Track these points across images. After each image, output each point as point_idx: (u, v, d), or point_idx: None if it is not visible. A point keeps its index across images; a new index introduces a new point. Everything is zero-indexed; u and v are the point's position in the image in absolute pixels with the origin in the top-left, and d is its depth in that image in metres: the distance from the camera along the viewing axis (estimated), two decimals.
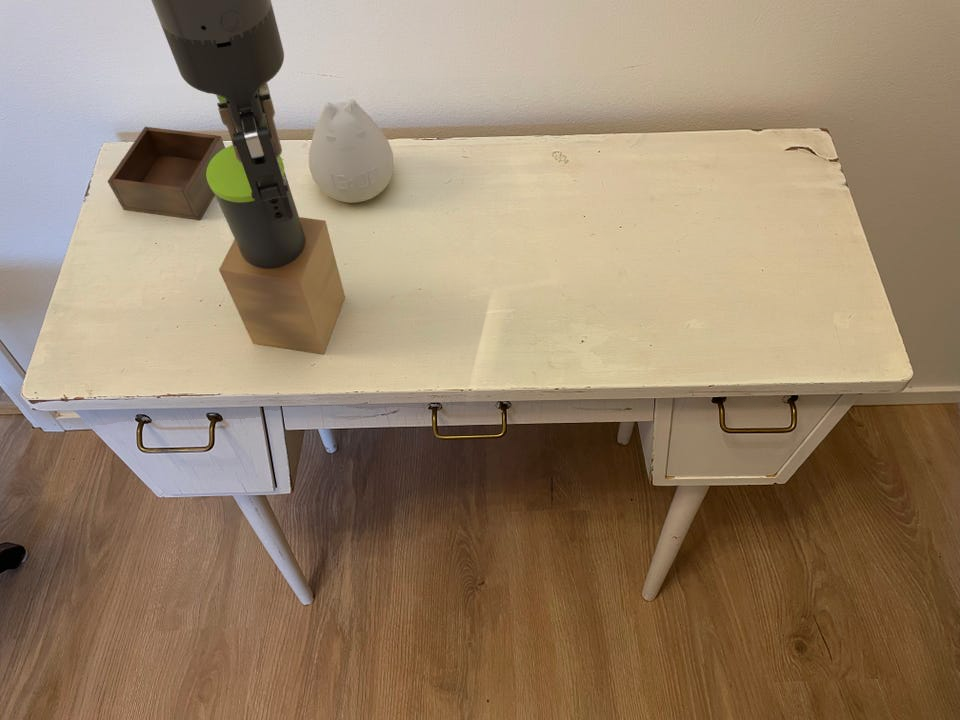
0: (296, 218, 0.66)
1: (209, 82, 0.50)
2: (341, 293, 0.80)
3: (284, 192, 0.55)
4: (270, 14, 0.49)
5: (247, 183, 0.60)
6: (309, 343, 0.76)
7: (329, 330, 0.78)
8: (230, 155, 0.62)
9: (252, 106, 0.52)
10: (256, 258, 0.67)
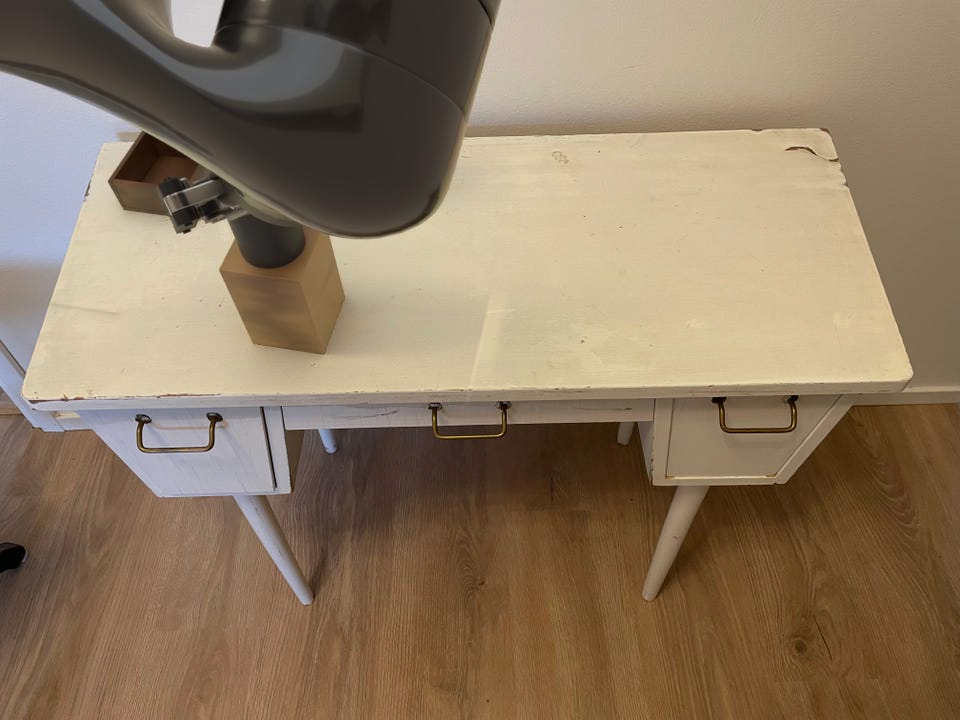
0: None
1: None
2: (341, 293, 0.80)
3: None
4: None
5: None
6: (309, 343, 0.76)
7: (329, 330, 0.78)
8: None
9: (224, 194, 0.40)
10: (256, 257, 0.67)
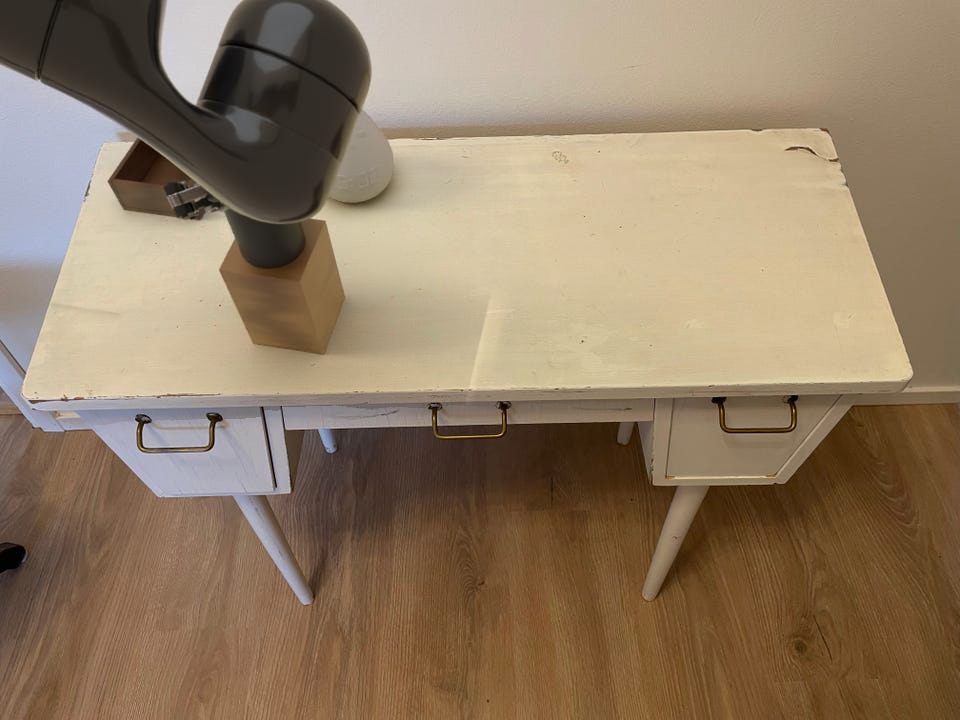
0: None
1: None
2: (341, 293, 0.80)
3: (184, 218, 0.59)
4: None
5: None
6: (309, 343, 0.76)
7: (329, 330, 0.78)
8: None
9: (211, 194, 0.54)
10: (256, 257, 0.67)
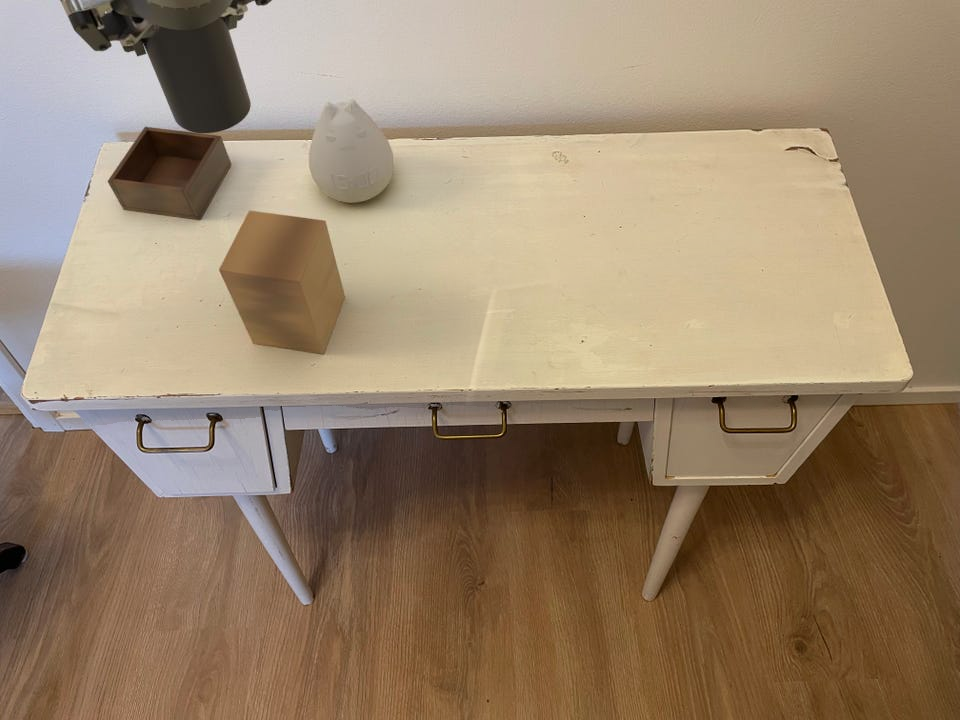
0: (237, 70, 0.56)
1: None
2: (341, 293, 0.80)
3: None
4: (171, 9, 0.41)
5: None
6: (309, 343, 0.76)
7: (329, 330, 0.78)
8: None
9: None
10: (189, 117, 0.57)
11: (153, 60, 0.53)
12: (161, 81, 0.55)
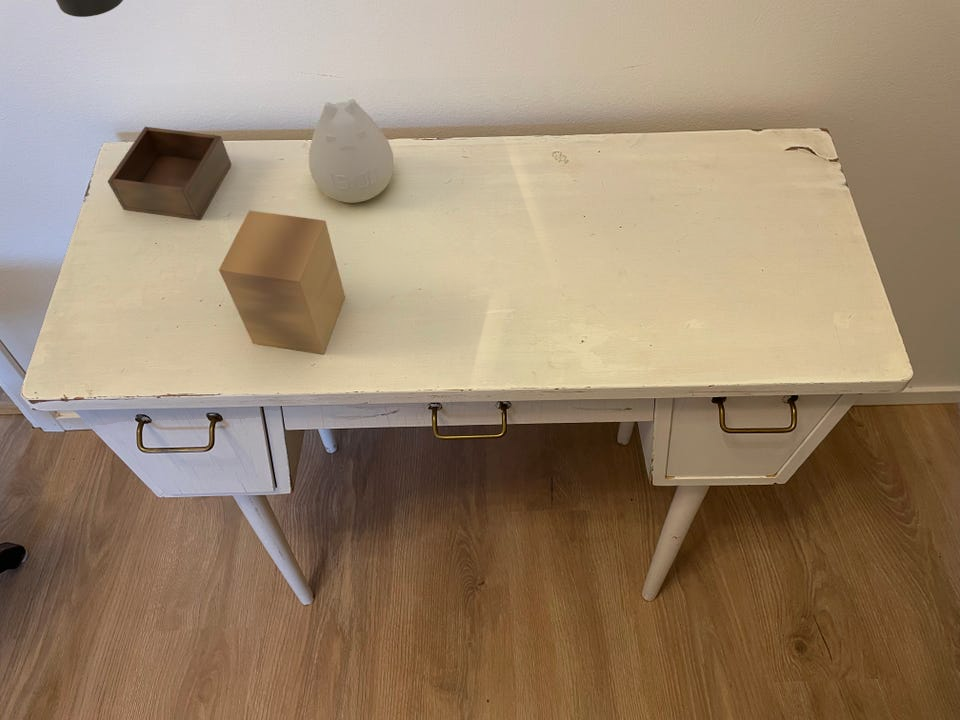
0: None
1: None
2: (341, 293, 0.80)
3: None
4: None
5: None
6: (309, 343, 0.76)
7: (329, 330, 0.78)
8: None
9: None
10: (68, 1, 0.68)
11: None
12: None
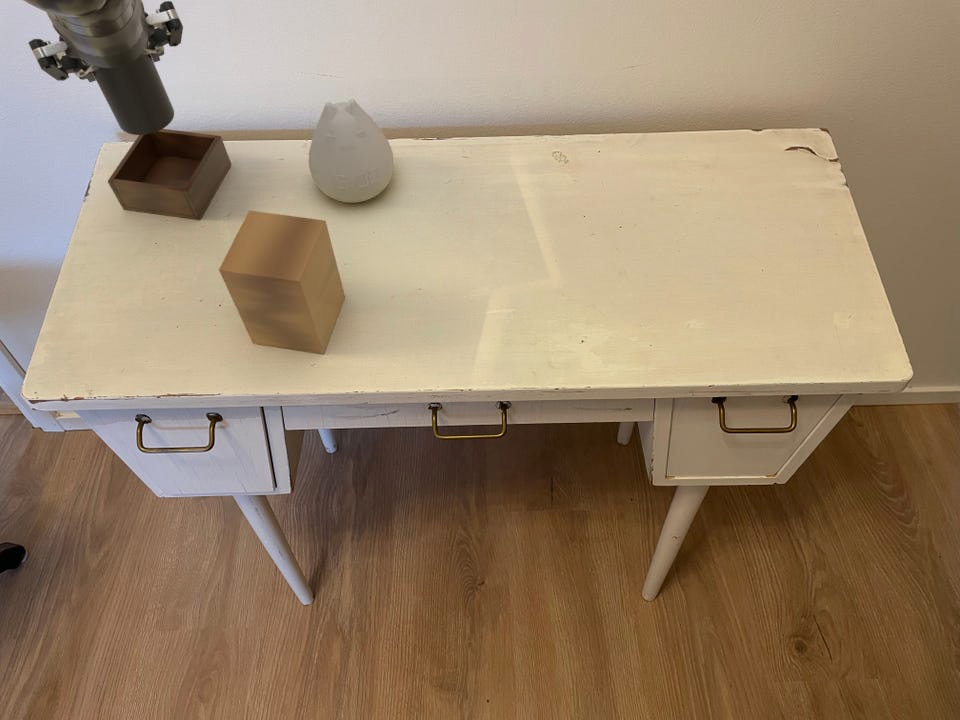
0: (161, 90, 0.80)
1: None
2: (341, 293, 0.80)
3: (56, 78, 0.73)
4: (100, 57, 0.64)
5: None
6: (309, 343, 0.76)
7: (329, 330, 0.78)
8: None
9: (67, 48, 0.68)
10: (128, 123, 0.80)
11: (100, 85, 0.77)
12: (107, 99, 0.79)
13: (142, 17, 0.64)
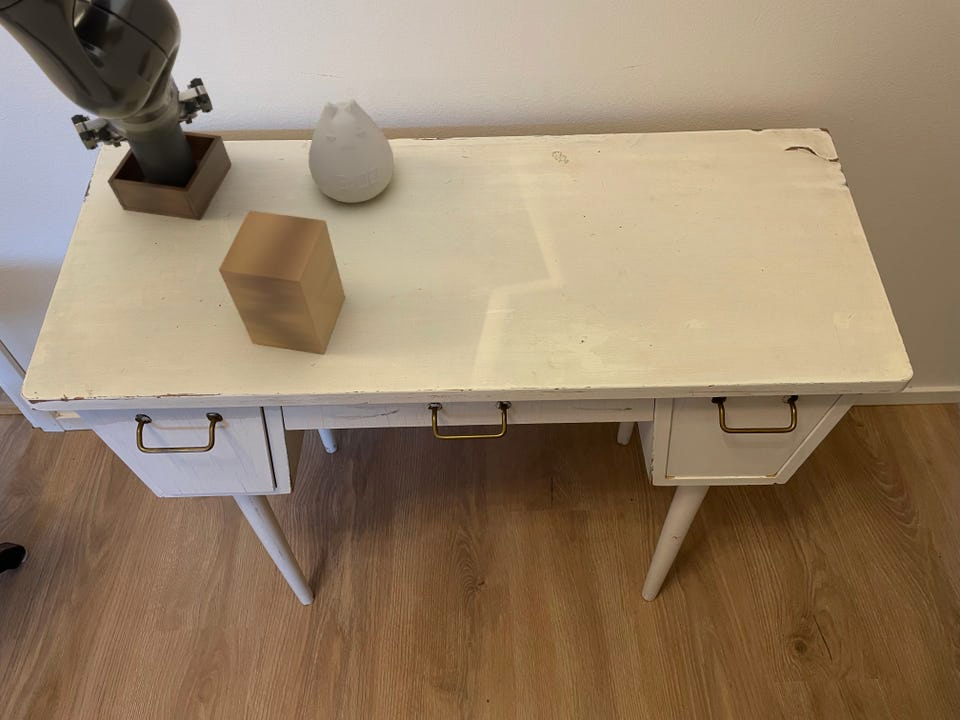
0: (191, 160, 0.88)
1: None
2: (341, 293, 0.80)
3: None
4: (138, 136, 0.71)
5: None
6: (309, 343, 0.76)
7: (329, 330, 0.78)
8: None
9: (107, 124, 0.75)
10: None
11: (137, 158, 0.85)
12: (143, 170, 0.87)
13: (177, 101, 0.71)
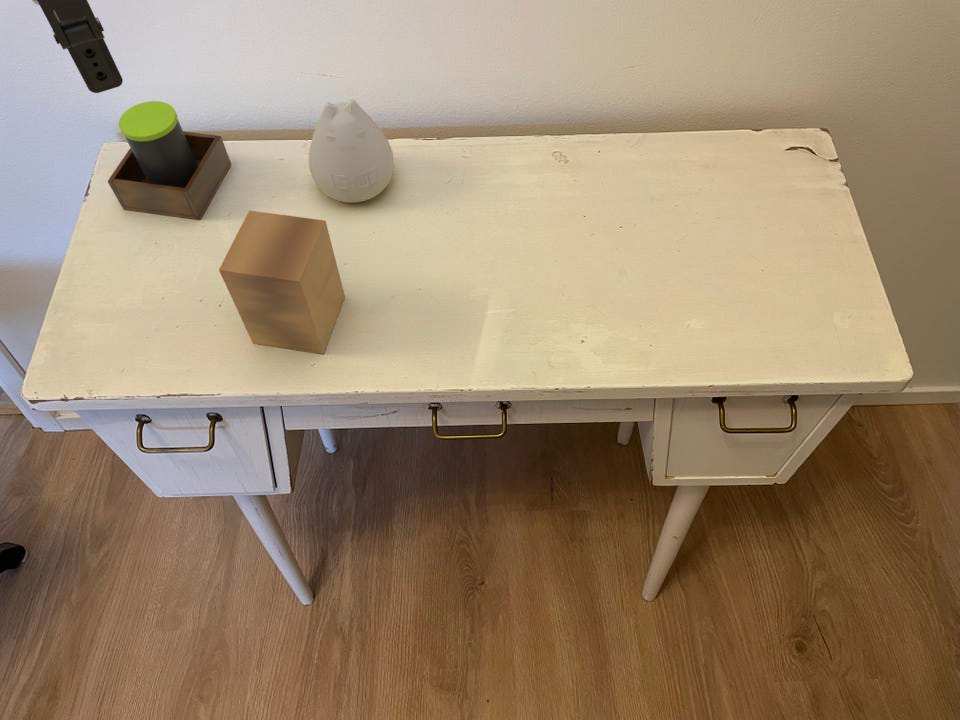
0: (191, 160, 0.88)
1: None
2: (341, 293, 0.80)
3: (98, 30, 0.43)
4: None
5: (148, 127, 0.82)
6: (309, 343, 0.76)
7: (329, 330, 0.78)
8: (138, 110, 0.84)
9: None
10: None
11: (137, 158, 0.85)
12: (143, 170, 0.87)
13: None
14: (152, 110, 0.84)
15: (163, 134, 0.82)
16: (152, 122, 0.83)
